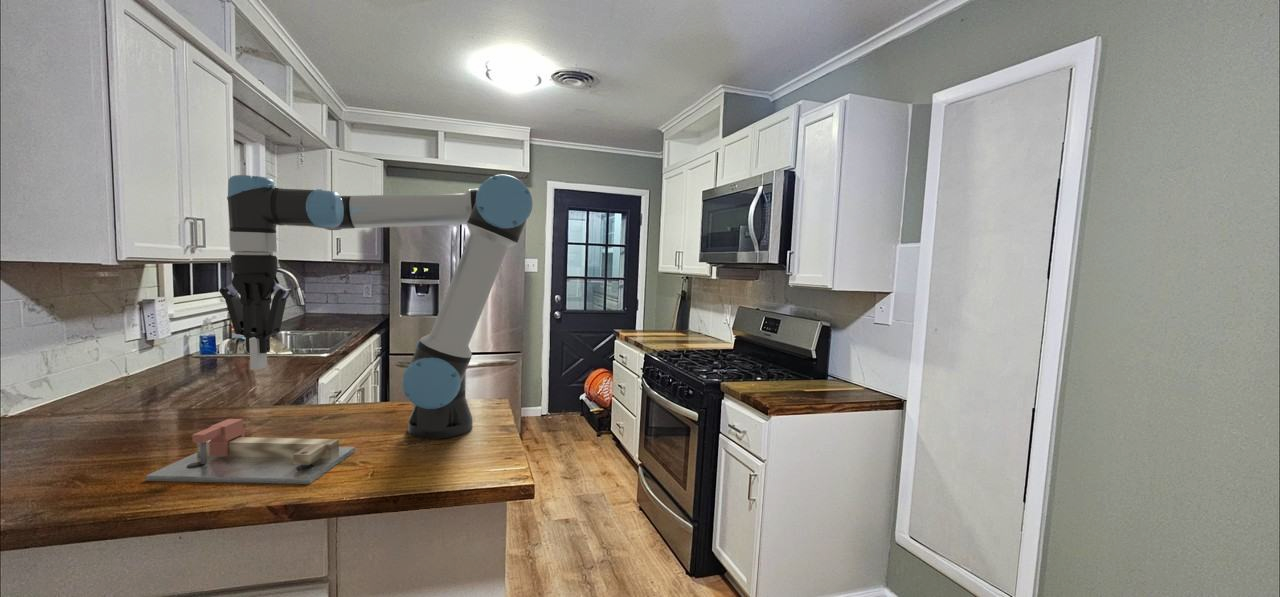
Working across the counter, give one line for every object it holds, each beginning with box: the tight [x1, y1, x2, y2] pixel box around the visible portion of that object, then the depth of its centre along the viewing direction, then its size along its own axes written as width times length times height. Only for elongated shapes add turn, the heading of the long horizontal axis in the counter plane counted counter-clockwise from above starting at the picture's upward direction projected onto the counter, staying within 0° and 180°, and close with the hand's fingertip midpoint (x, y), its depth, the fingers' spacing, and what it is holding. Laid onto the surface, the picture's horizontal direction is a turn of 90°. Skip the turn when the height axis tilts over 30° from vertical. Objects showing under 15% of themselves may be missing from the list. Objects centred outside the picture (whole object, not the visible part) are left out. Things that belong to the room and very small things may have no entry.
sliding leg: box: [192, 418, 246, 464], centre depth 103 cm, size 3×10×6 cm, turn 2°
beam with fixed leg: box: [196, 436, 340, 468], centre depth 103 cm, size 27×8×3 cm, turn 92°
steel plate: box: [145, 446, 356, 485], centre depth 102 cm, size 30×16×1 cm, turn 92°
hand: (259, 368), depth 104 cm, fingers closed
